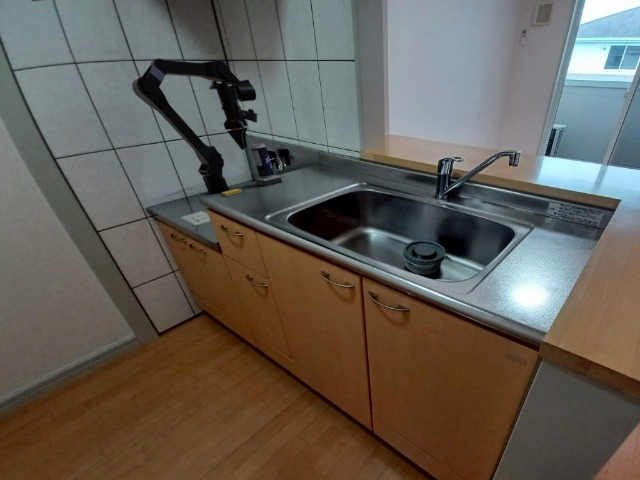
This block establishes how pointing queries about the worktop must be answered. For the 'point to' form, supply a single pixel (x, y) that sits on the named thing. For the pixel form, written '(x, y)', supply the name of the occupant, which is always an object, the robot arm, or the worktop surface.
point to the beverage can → (262, 160)
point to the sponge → (231, 192)
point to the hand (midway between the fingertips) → (244, 148)
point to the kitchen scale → (268, 181)
